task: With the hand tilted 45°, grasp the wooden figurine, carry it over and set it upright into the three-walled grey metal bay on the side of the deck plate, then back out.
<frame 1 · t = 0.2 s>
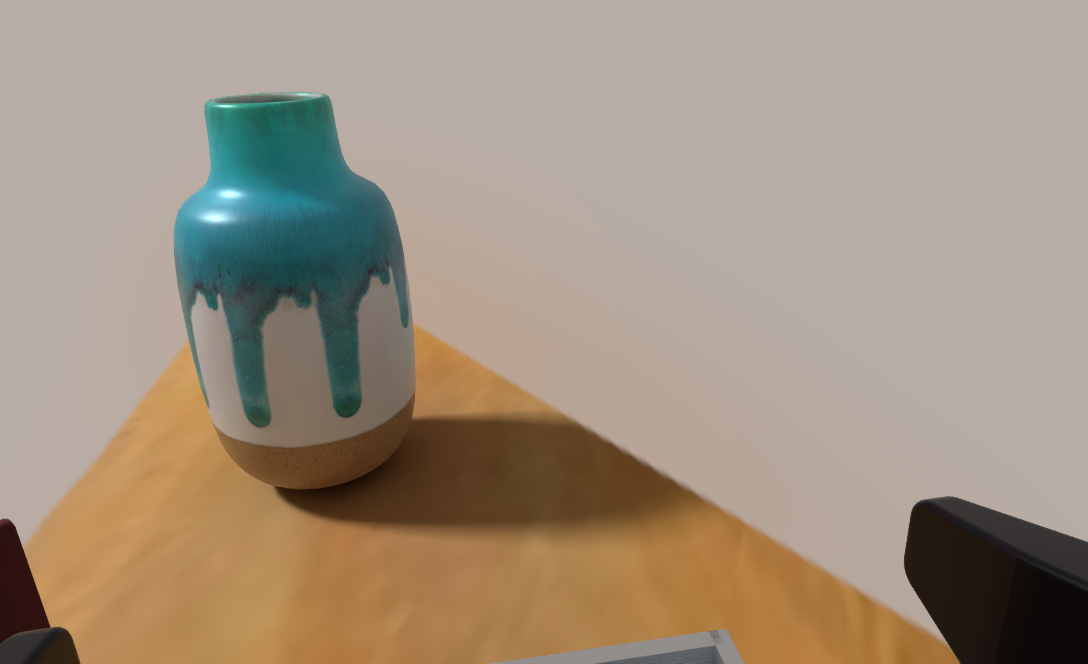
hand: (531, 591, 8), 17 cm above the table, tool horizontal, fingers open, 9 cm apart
vase: (328, 467, 40), on the table
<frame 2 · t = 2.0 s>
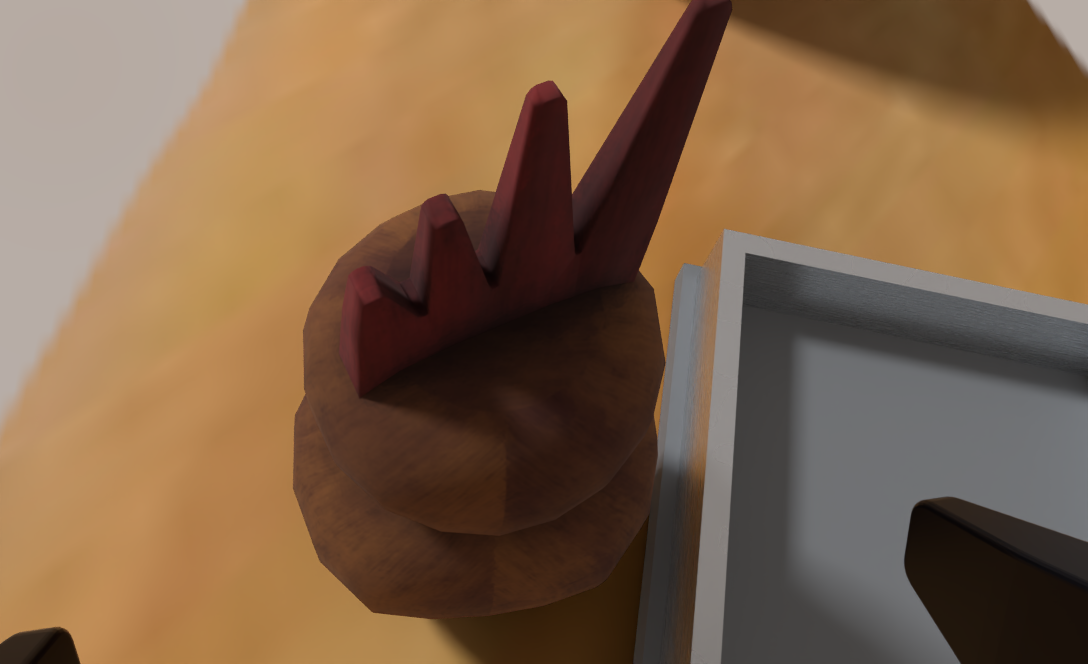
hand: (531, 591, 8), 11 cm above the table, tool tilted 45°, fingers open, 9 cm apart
wooden figurine: (473, 511, 19), on the table
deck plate: (893, 614, 19), on the table
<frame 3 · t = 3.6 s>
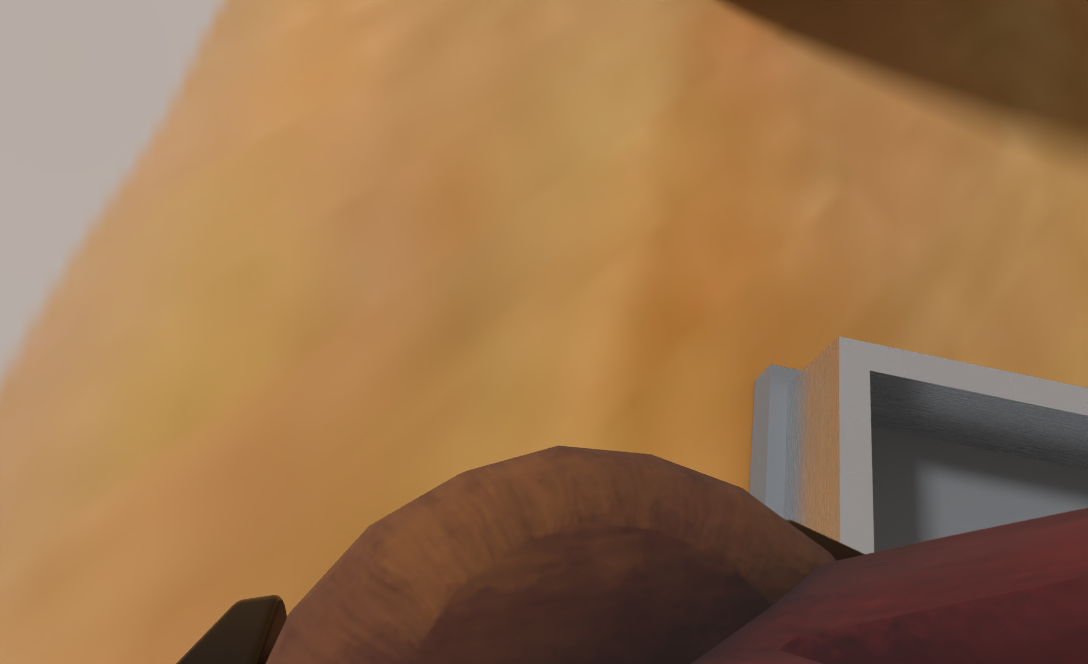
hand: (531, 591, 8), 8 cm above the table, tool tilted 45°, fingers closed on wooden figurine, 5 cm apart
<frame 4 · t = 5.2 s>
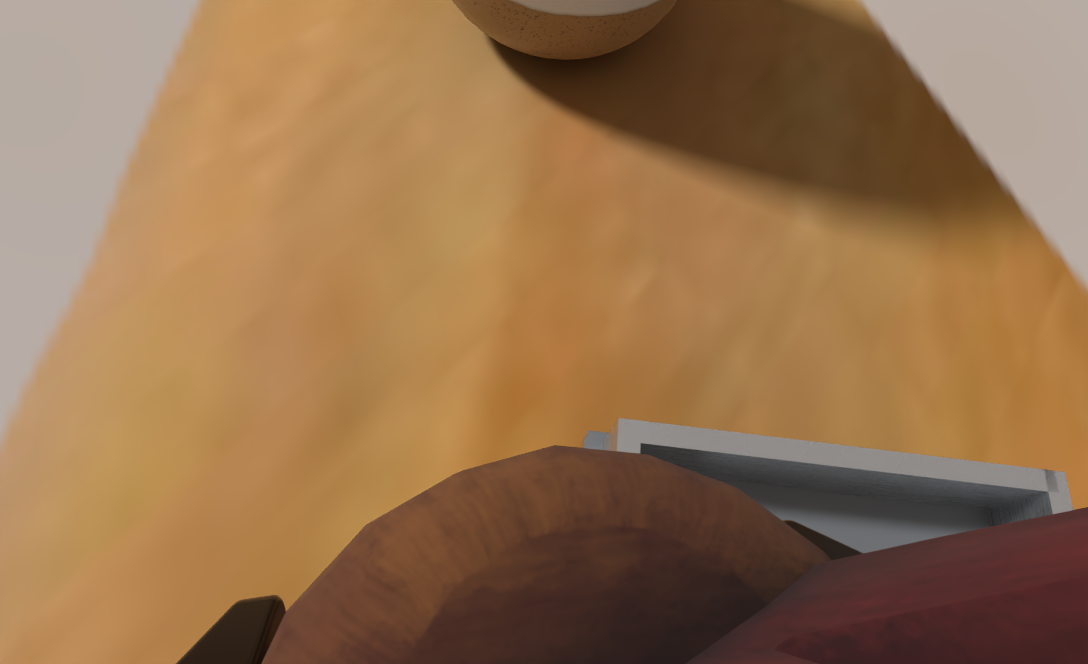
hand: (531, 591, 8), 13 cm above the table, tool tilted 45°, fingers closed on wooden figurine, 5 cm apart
vase: (551, 12, 30), on the table
when the fingers open (10 cm above the table, at t = 7.0 s): wooden figurine drops 1 cm, resting on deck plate.
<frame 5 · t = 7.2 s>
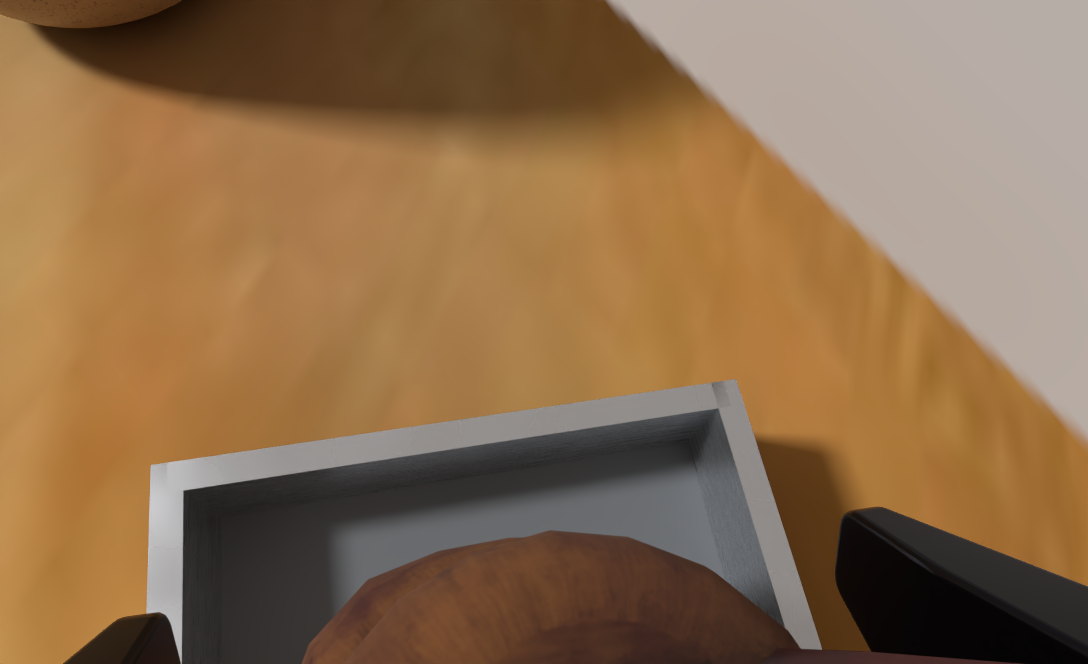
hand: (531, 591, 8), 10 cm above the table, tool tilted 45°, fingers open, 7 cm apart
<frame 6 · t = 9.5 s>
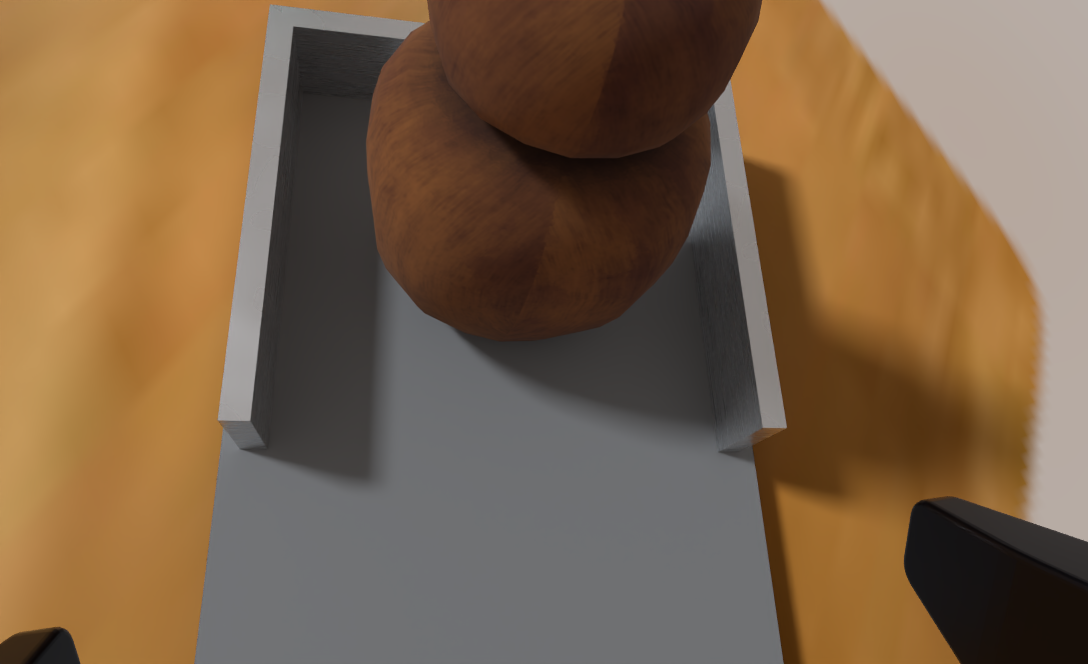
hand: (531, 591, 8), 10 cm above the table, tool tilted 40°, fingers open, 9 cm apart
wooden figurine: (499, 272, 20), point 1 cm above the table, touching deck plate
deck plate: (498, 366, 20), on the table
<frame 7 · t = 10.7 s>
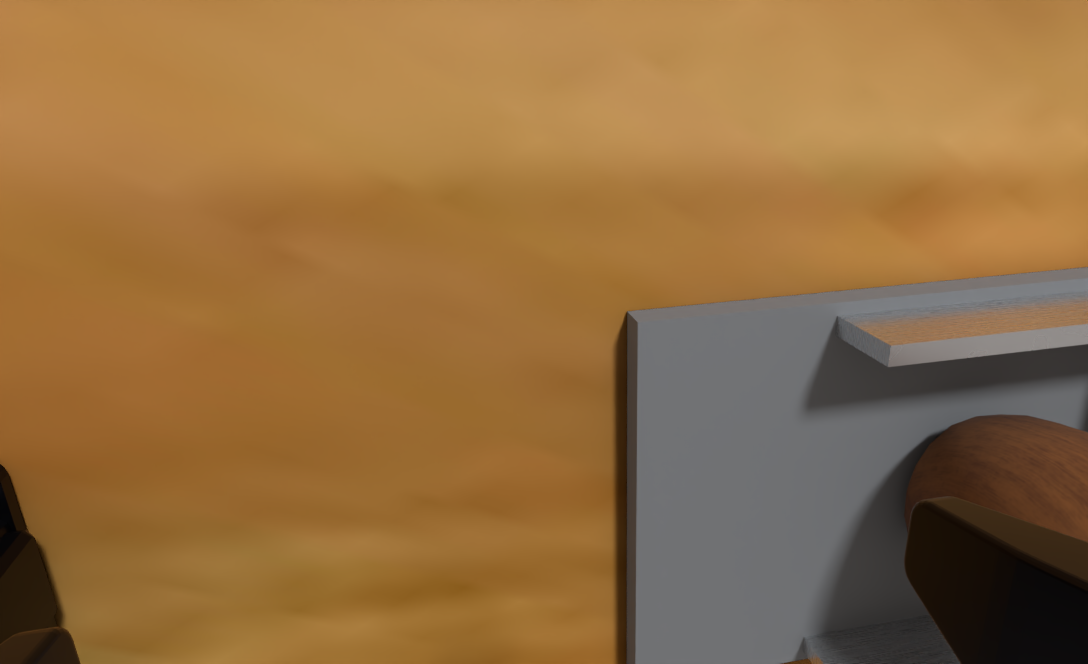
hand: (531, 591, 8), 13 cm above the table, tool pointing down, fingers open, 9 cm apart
wooden figurine: (952, 473, 24), point 1 cm above the table, touching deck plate
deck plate: (871, 472, 25), on the table
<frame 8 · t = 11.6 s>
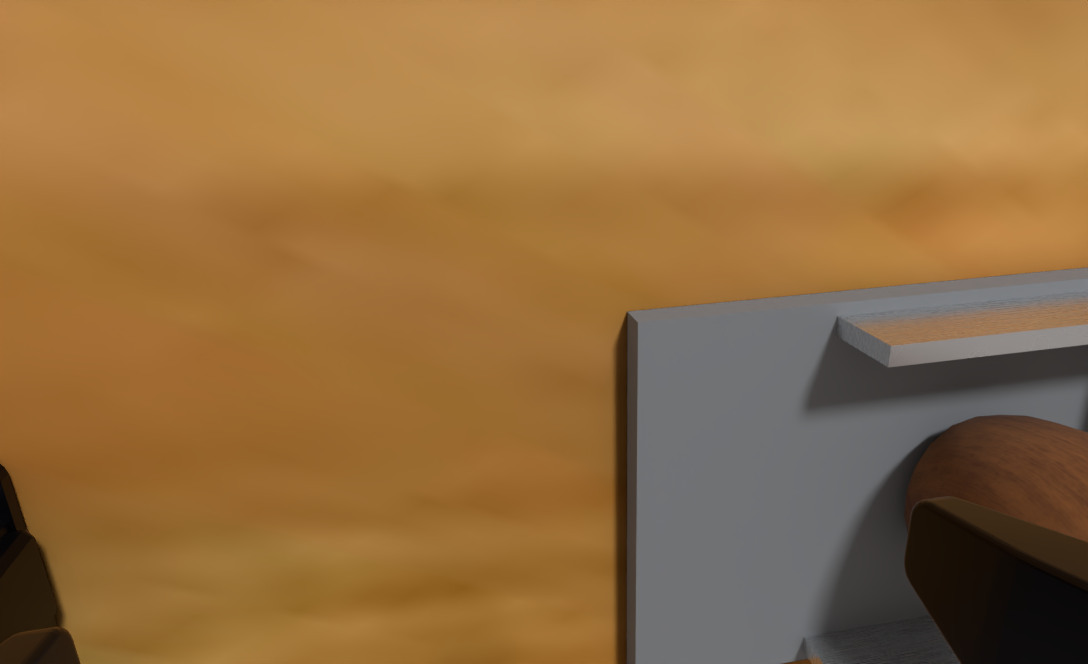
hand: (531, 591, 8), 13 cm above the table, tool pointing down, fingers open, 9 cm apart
wooden figurine: (952, 474, 24), point 1 cm above the table, touching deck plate
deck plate: (871, 472, 25), on the table
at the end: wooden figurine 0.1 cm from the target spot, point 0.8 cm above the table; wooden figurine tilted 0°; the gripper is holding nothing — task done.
